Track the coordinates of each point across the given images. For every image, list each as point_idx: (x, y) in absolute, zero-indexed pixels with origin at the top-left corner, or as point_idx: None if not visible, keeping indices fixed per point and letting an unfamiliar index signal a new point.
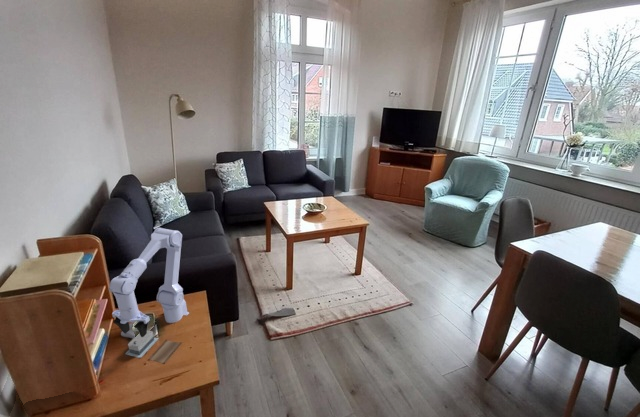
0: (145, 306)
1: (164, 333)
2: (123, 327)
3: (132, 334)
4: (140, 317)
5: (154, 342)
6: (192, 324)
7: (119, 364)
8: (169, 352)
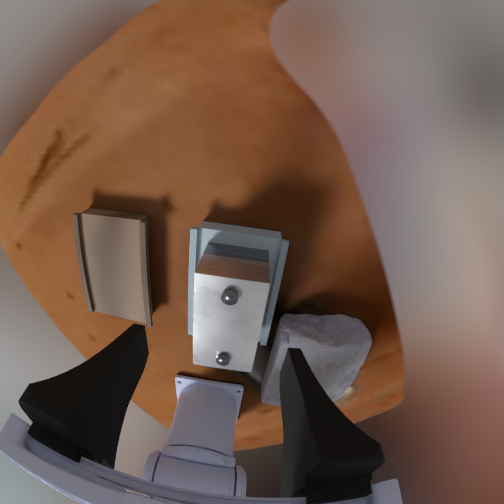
0: None
1: None
2: (296, 398)
3: (309, 342)
4: (49, 485)
5: (188, 312)
6: None
7: (293, 189)
8: (95, 266)
